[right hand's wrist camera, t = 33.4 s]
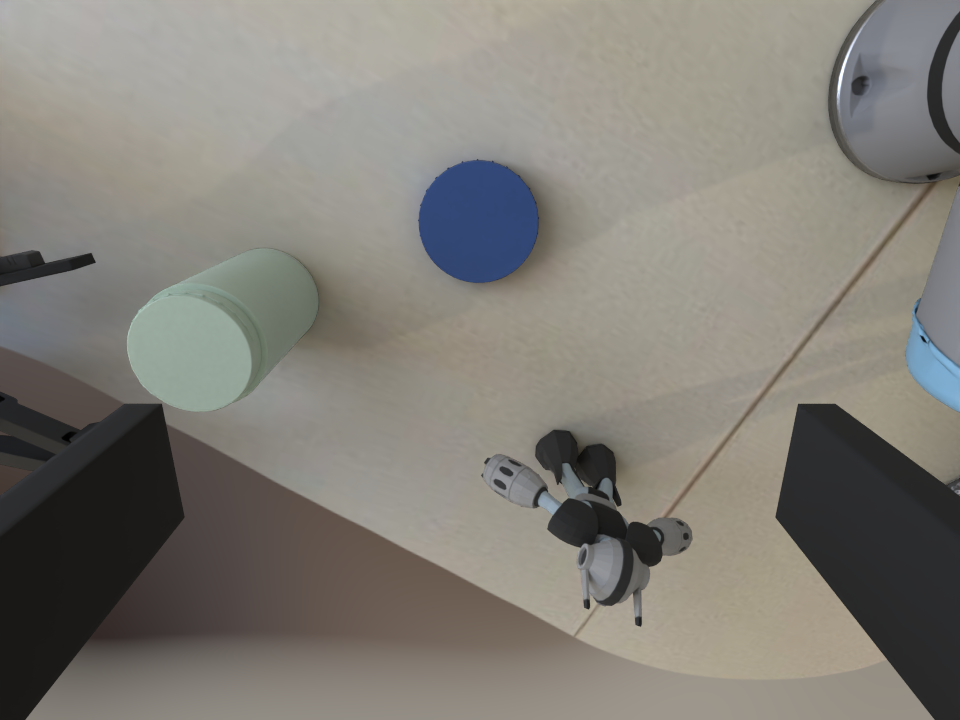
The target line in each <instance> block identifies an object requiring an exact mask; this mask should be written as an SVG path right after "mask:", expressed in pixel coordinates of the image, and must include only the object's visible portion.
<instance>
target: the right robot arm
mask: <svg viewBox="0 0 960 720" xmlns="http://www.w3.org/2000/svg"><path fill="white" fill-rule="evenodd" d="M828 103H829V116H830V122H831V126H832V130H833V133H834V136H835V138H836V140H837V142H838V145H839V146H840V148H841V149H842V151H843V153H844V154H845V155H846V156H847V158H848V159H849V160H850V161H851V162H852V163H853V164H854V165H855V166H857V167H858V168H859V169H861V170H862V171H864V172H866V173H867V174H869V175H871V176H874V177H876V178H879V179H882V180H887V181H892V182H901V183H914V184H915V183H929V182H935V181H941V180H945V179H949V178H952V177H956V176H958V175H960V0H877V1H876V2H875V3H874V4H873V5H871V6H870V7H869V8H868V9H867V11H866V12H865V13H864V14H863V15H862V16H861V17H860V19H859V20H858V21H857V23H856V24H855V25H854V27H853V28H852V30H851V31H850V33H849V35H848V36H847V38H846V40H845V42H844V43H843V45H842V47H841V50H840V52H839V54H838V57H837V59H836V62H835V65H834V68H833V72H832V76H831V81H830V87H829V99H828ZM912 314H913V317H912V321H913V325H912V328H911V332H910V335H909V339H908V343H907V346H906V351H905V357H906V360H907V366H908V368H909V372H910V374H911V375H912V377H913V378H914V379H915V380H916V382H917V383H918V384H919V385H920V386H921V387H922V388H923V389H924V390H926V391H927V392H928V393H929V394H930V395H932V396H933V397H934V398H936V399H937V400H939V401H940V402H942V403H944V404H945V405H947V406H949V407H950V408H952V409H954V410H955V411H957V412H959V413H960V184H959V186H958V189H957V192H956V195H955V198H954V201H953V204H952V207H951V210H950V213H949V216H948V219H947V222H946V225H945V228H944V231H943V234H942V237H941V240H940V243H939V246H938V249H937V252H936V255H935V258H934V261H933V264H932V267H931V271H930V274H929V277H928V280H927V283H926V286H925V289H924V292H923V295H922V298H920V299H918V301H917V302H916V304H915V305H914V308H913V312H912ZM183 519H184V512H183V507H182V502H181V497H180V492H179V487H178V482H177V477H176V472H175V467H174V462H173V457H172V452H171V447H170V442H169V437H168V432H167V427H166V422H165V417H164V412H163V407H162V404H124V405H123V406H121V407H120V408H118V409H117V410H116V411H114V412H113V413H112V414H110V415H109V416H108V417H106V418H105V419H104V420H102V421H101V422H99V423H98V424H97V425H95V426H94V427H93V428H91V429H90V430H89V431H87V432H86V433H85V434H83V435H82V436H80V437H79V438H78V439H76V440H75V441H74V442H72V443H71V444H70V445H68V446H67V447H66V448H64V449H63V450H61V451H60V452H59V453H57V454H56V455H55V456H53V457H52V458H51V459H49V460H48V461H47V462H45V463H44V464H42V465H41V466H40V467H38V468H37V469H36V470H34V471H33V472H32V473H30V474H29V475H28V476H26V477H25V478H24V479H22V480H21V481H19V482H18V483H17V484H15V485H14V486H13V487H11V488H10V489H9V490H7V491H6V492H4V493H3V494H2V495H0V720H25V719H26V718H27V717H28V716H29V714H30V713H31V712H32V710H33V709H34V708H35V707H36V705H37V704H38V703H39V702H40V700H41V699H42V698H43V696H44V695H45V694H46V693H47V691H48V690H49V689H50V688H51V686H52V685H53V684H54V682H55V681H56V680H57V679H58V677H59V676H60V675H61V674H62V672H63V671H64V670H65V669H66V667H67V666H68V665H69V663H70V662H71V661H72V660H73V658H74V657H75V656H76V655H77V653H78V652H79V651H80V649H81V648H82V647H83V646H84V644H85V643H86V642H87V641H88V639H89V638H90V637H91V636H92V634H93V633H94V632H95V630H96V629H97V628H98V627H99V625H100V624H101V623H102V622H103V620H104V619H105V618H106V616H107V615H108V614H109V613H110V611H111V610H112V609H113V608H114V606H115V605H116V604H117V602H118V601H119V600H120V599H121V597H122V596H123V595H124V594H125V592H126V591H127V590H128V589H129V587H130V586H131V585H132V583H133V582H134V581H135V580H136V578H137V577H138V576H139V575H140V573H141V572H142V571H143V569H144V568H145V567H146V566H147V564H148V563H149V562H150V560H151V559H152V558H153V557H154V555H155V554H156V553H157V552H158V550H159V549H160V548H161V547H162V545H163V544H164V543H165V542H166V540H167V539H168V538H169V536H170V535H171V534H172V533H173V531H174V530H175V529H176V528H177V526H178V525H179V524H180V522H181V521H182V520H183ZM776 519H777V520H778V521H779V522H780V524H781V525H782V526H783V528H784V529H785V530H786V531H787V533H788V534H789V535H790V536H791V538H792V539H793V540H794V542H795V543H796V544H797V545H798V547H799V548H800V549H801V550H802V552H803V553H804V554H805V555H806V557H807V558H808V559H809V561H810V562H811V563H812V564H813V566H814V567H815V568H816V569H817V571H818V572H819V573H820V575H821V576H822V577H823V578H824V580H825V581H826V582H827V583H828V585H829V586H830V587H831V589H832V590H833V591H834V592H835V594H836V595H837V596H838V597H839V599H840V600H841V601H842V602H843V604H844V605H845V606H846V608H847V609H848V610H849V611H850V613H851V614H852V615H853V616H854V618H855V619H856V620H857V622H858V623H859V624H860V625H861V627H862V628H863V629H864V630H865V632H866V633H867V634H868V636H869V637H870V638H871V639H872V641H873V642H874V643H875V644H876V646H877V647H878V648H879V649H880V651H881V652H882V653H883V655H884V656H885V657H886V658H887V660H888V661H889V662H890V663H891V665H892V666H893V667H894V669H895V670H896V671H897V672H898V674H899V675H900V676H901V677H902V679H903V680H904V681H905V683H906V684H907V685H908V686H909V688H910V689H911V690H912V691H913V693H914V694H915V695H916V696H917V698H918V699H919V700H920V702H921V703H922V704H923V705H924V707H925V708H926V709H927V710H928V712H929V713H930V714H931V716H932V717H933V718H934V719H935V720H960V495H958V494H957V493H956V492H954V491H953V490H951V489H950V488H949V487H947V486H946V485H945V484H943V483H942V482H941V481H939V480H938V479H937V478H935V477H934V476H932V475H931V474H930V473H928V472H927V471H926V470H924V469H923V468H922V467H920V466H919V465H918V464H916V463H915V462H913V461H912V460H911V459H909V458H908V457H907V456H905V455H904V454H903V453H901V452H900V451H899V450H897V449H896V448H894V447H893V446H892V445H890V444H889V443H888V442H886V441H885V440H884V439H882V438H881V437H880V436H878V435H877V434H875V433H874V432H873V431H871V430H870V429H869V428H867V427H866V426H865V425H863V424H862V423H861V422H859V421H858V420H856V419H855V418H854V417H852V416H851V415H850V414H848V413H847V412H846V411H844V410H843V409H842V408H840V407H839V406H837V405H836V404H798V407H797V412H796V417H795V422H794V427H793V432H792V437H791V442H790V447H789V452H788V457H787V462H786V467H785V472H784V477H783V482H782V487H781V492H780V497H779V502H778V507H777V512H776Z"/></svg>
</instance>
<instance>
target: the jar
mask: <svg viewBox="0 0 960 720" xmlns="http://www.w3.org/2000/svg"><path fill="white" fill-rule="evenodd" d="M318 307H319V298H318V291H317V287H316V285H315V282H314V280H313V278H312V276H311V275H310V273H309V272H308V270H307V269H306V268H305V267H304V266H303V265H302V264H301V263H300V262H299V261H298V260H296V259H295V258H294V257H292V256H290V255H288V254H286V253H284V252H282V251H279V250H275V249H269V248H257V249H252V250H248V251H246V252H243V253H241V254H239V255H237V256H235V257H233V258H231V259H228V260H226V261H224V262H222V263H220V264H218V265H216V266H213V267H211V268H209V269H207V270H205V271H203V272H201V273H198V274H196V275H194V276H192V277H190V278H188V279H186V280H183V281H181V282H179V283H177V284H175V285H173V286H171V287H168V288H166V289H164V290H162V291H161V292H159V293H158V294H156V295H155V296H154V297H153V298H152V299H151V300H150V301H149V302H148V303H147V304H146V305H145V306H144V307H142V308H141V309H140V310H139V312H138V313H137V315H136V316H135V318H134V319H133V321H131V325H130V329H129V333H128V336H127V349H128V351H127V354H128V357H129V360H130V363H131V366H132V367H131V368H132V370H133V372H134V373H135V375H136V376H137V378H138V379H139V381H140V382H139V383H140V384H141V385H142V386H143V387H144V388H145V389H146V390H147V391H148V392H149V393H150V394H151V395H154V396H156V397H157V398H158V399H160V400H161V401H163V402H165V403H166V404H169V405H171V406H173V407H176V408H179V409H182V410H186V411H193V412H207V411H213V410H217V409H221V408H223V407H225V406H227V405H229V404H231V403H233V402H236V401H238V400H240V399H242V398H244V397H245V396H247V395H248V394H249V393H251V392H252V391H253V390H254V389H255V388H256V387H257V385H258V384H259V383H260V382H261V381H262V380H263V379H264V378H265V377H266V376H267V375H268V373H269V372H270V371H271V370H272V369H273V368H274V367H275V366H276V365H277V364H278V362H279V361H280V360H281V359H282V358H283V357H284V356H285V355H286V354H287V353H288V352H289V350H290V349H291V348H292V347H293V346H294V345H295V344H296V343H297V342H298V341H299V340H300V338H301V337H302V336H303V335H304V334H305V333H306V332H307V331H308V330H309V329H310V327H311V326H312V324H313V323H314V321H315V318H316V316H317V312H318Z"/></svg>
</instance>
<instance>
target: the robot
mask: <svg viewBox="0 0 960 720" xmlns="http://www.w3.org/2000/svg"><path fill="white" fill-rule="evenodd" d="M535 456H536V458H537V460H538V461H539V462H540V464H541V465H542V467H543V468H545V470H551V471H552V472H553V474H554V475H555V478H556V482H557V485H559V482H560V483H561V484H563V486H564V488H565V490H566V492H567V494H568V496H569V498H568V499H567V500H566V501H565V502H564V503H563V504H562V503H560V502H559V501H557V500H556V499H555V498H554V497H552V496H551V495H550V494H549V493H548V490H547V489H548V487H547V485H546V483H545V482H544V481H543V480H542V478H541V477H540V476H539V474H537V473H535V472H534V471H533V470H532V469H531V468H529V467H528V466H526V465H524V464H522V463H521V462H519V461H516V460H514V459H512V458H510V457H508V456H505V455H501V454H496V455H495V456H493V457H492V458H487V459H486V461H485V462H484V463H485V464H486V467H485V469H484V472H483V473H482V475H481V476H482V477H483V479H484V480H485V482H486V483H487V484H488V485H489V486H490V488H491V489H492V490H494V491H495V492H496V493H498V494H499V495H501V496H502V497H504V498H505V499H507V500H508V501H510V502H512V503H515V504H517V505H520V506H521V507H528V508H537V507H539V506H541V507H543V508H545V509H546V510H548V511H549V512H550V513H551V514H552V515H553V516H552V518H551V520H550V522H549V524H548V530H549V531H550V532H551V533H552V534H553V535H555V536H556V537H557V538H559V539H560V540H562V541H564V542H566V543H568V544H571V545H573V546H576V547H580V550H579V553H578V556H577V567H578V569H581V580H582V590H583V600H584V608H586V609H589V608H590V597H589V593H590V594H591V595H592V596H593V598H594V599H595V601H596V602H597V603H598V604H600V605H603V606H612V605H614V604H616V603H622V602H623V601H625V600H627V598H628V597H629V596H630V595H631V594H632V593H633V599H634V611H635V624H636V625H637V626H640V627H641V625H642V608H641V590H643V589H645V587H646V586H647V584H648V582H649V578H650V570H649V567H651V566H654V565H657V564H658V563H659V562H660V561H661V558H662V555H667V556H671V555H676V554H679V553H681V552H683V551H684V550H686V549H687V548H688V547H689V545H690V543H691V541H692V531H691V529H690V528H689V526H688V524H687V523H685V522H683V521H681V520H680V519H678V518H657V519H655V520H653V521H651V522H650V523H648V524H647V525H645V524H643V523H639V522H632V523H630V524H628V522H627V521H626V520H625V518H624V517H623V516H622V515H621V514H620V513H619V512H618V511H617V510H616V507H615V505H614V501H615V503H616V505H617V507H618V506H621V499H620V496H619V494H618V491H617V488H616V486H615V484H616V462H615V457H614V455H613V452H612V451H611V450H610V449H608V448H607V447H606V446H604V445H603V444H597V445H592V446H587V447H586V448H585V449H584V451H583V452H582V453H581V454H580V456H579V457H578V447H577V442H576V441H575V439H574V438H573V436H572V435H571V433H570V432H569V431H560V430H553V431H552V432H550V433H549V434H548V435H546V436H545V437H543V438H542V439H541V440H540V441H539V443H538V444H537V446H536V454H535ZM577 457H578V458H577ZM574 468H575V469H576V471H575V469H574ZM580 479H581V480H583V481H584V482H586V483H587V484H588V485H590V486H592V487H593V488H592V487H584V485H583V483H582V482H581V480H580ZM612 498H613V500H614V501H613V500H612Z"/></svg>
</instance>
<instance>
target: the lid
mask: <svg viewBox="0 0 960 720" xmlns="http://www.w3.org/2000/svg"><path fill="white" fill-rule="evenodd" d="M447 169H448V170H446V171H445V172H444V173H442V174H441V175H440V176H439V177H436V178H435V179H436V180H435V181H434V182H433V183H432V184H431V186H430V187H429V189H427V190H426V194H425V196H424V198H423V201H422V204H421V205H420V206H421V208H420V212H419V220H418V221H419V230H420V236H421V239H422V243H423V245H424V247H425V250H426V252H427V253H428V255H429V256H430V258H431V259H432V260H433V262H434V263H435V264H436V265H437V266H438V267H439V268H440V269H441V270H443V271H444V272H446V273H447V274H449V275H451V276H452V277H454V278H457V279H460V280H463V281H467V282H474V283H484V282H491V281H494V280H498V279H500V278H503V277H505V276H507V275H509V274H510V273H512V272H513V271H514V270H516V269H517V268H518V267H519V266H520V265H521V264H522V263H523V262H524V261H525V260H526V258H527V257H528V255H529V254H530V252H531V250H532V249H533V246H534V244H535V241H536V237H537V234H538V233H537V232H538V219H539V217H538V211H537V207H536V202H535V200H534V198H533V195H532V194H531V192H530V188H529V187H527V186H526V184H525V183H524V182H523V181H522V180H521V178H520V176H519V175H518V176H517V175H516V174H515V173H514V172H513V171H511V170H510V169H508V167H507V166H506V167H505V166H502V165H500V164H498V163H494V161H492V162H491V161H484V160H478V159H477V160H473V161H467V162H463V161H462V162H461V163H460V164H457V165H455V166H453V167H451V168H447Z"/></svg>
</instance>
